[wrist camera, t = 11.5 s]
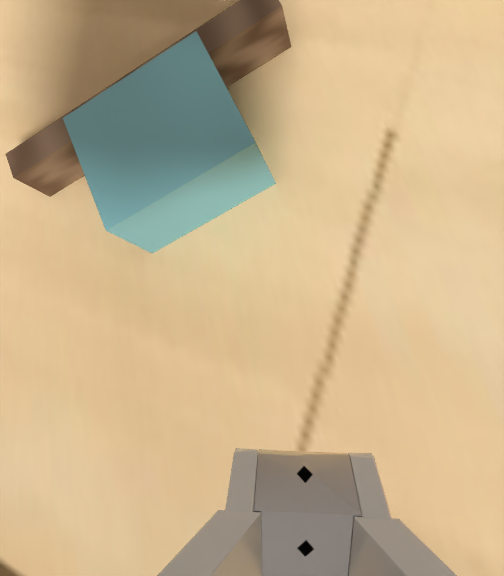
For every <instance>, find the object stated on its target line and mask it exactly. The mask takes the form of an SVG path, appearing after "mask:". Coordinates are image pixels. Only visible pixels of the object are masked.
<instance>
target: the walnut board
mask: <svg viewBox="0 0 504 576" xmlns="http://www.w3.org/2000/svg"><path fill="white" fill-rule="evenodd" d="M196 31H197V33H198V35H199V37H200V39H201V41H202V43H203V44H204V46H205V48H206V50H207V52H208V54H209V56H210V58H211V59H212V61H213V63H214V65H215V67H216V69H217V71H218V73H219V75H220V76H221V78H222V80H223V82H224V84H225V86H226V87H227V86H229V85H230V84H232V83H234V82H235V81H237V80H239V79H240V78H242V77H243V76H245V75H247V74H248V73H250V72H251V71H253V70H255V69H256V68H258V67H259V66H261V65H263V64H264V63H266V62H267V61H269V60H271V59H272V58H274V57H276V56H277V55H279V54H280V53H282V52H284V51H285V50H287V49H288V48H290V47H291V44H290V39H289V35H288V30H287V26H286V22H285V17H284V13H283V8H282V5H281V4H280V2H279V0H240V1H238V2H237V3H235V4H234V5H232V6H231V7H229V8H228V9H226V10H225V11H223V12H221V13H220V14H218V15H217V16H215V17H214V18H212V19H211V20H209V21H208V22H206V23H205V24H203V25H202V26H200V27H199V28H197V29H196V30H194V31H192V32H191V33H189V34H188V35H186V36H185V37H183V38H182V39H180V40H179V41H177V42H176V43H174V44H173V45H171V46H170V47H168V48H167V49H165V50H164V51H162V52H160V53H159V54H157V55H156V56H154V57H153V58H151V59H150V60H148V61H147V62H145V63H144V64H142V65H141V66H139V67H138V68H136V69H135V70H133V71H131V72H130V73H128V74H127V75H125V76H124V77H122V78H121V79H119V80H118V81H116V82H115V83H113V84H112V85H110V86H109V87H107V88H106V89H104V90H103V91H105V90H107V89H108V88H110V87H111V86H113V85H114V84H116V83H117V82H119V81H120V80H122V79H123V78H125V77H127V76H128V75H130V74H131V73H133V72H134V71H136V70H137V69H139V68H140V67H142V66H143V65H145V64H146V63H148V62H150V61H151V60H153V59H154V58H156V57H157V56H159V55H160V54H162V53H163V52H165V51H166V50H168V49H169V48H171V47H173V46H174V45H176V44H177V43H179V42H180V41H182V40H183V39H185V38H186V37H188V36H189V35H191V34H192V33H194V32H196ZM103 91H101V92H99V93H98V94H96V95H95V96H93V97H92V98H90V99H89V100H87V101H86V102H84V103H83V104H81V105H80V106H82V105H84V104H85V103H87V102H88V101H90V100H91V99H93V98H94V97H96V96H97V95H99V94H100V93H102V92H103ZM80 106H78V107H77V108H79V107H80ZM77 108H75V109H74V110H76V109H77ZM74 110H72V111H70V112H69V113H67V114H66V115H64V116H63V117H61V118H60V119H58V120H57V121H55V122H54V123H52V124H51V125H49V126H48V127H46V128H45V129H43V130H41V131H40V132H38V133H37V134H35V135H34V136H32V137H31V138H29V139H28V140H26V141H25V142H23V143H22V144H20V145H19V146H17V147H16V148H14V149H13V150H11V151H9V152H8V153H6V157H7V160H8V163H9V166H10V169H11V172H12V175H13V178H15V179H17V180H19V181H21V182H23V183H24V184H26V185H28V186H30V187H32V188H34V189H36V190H38V191H40V192H42V193H44V194H46V195H48V196H52V195H54V194H55V193H57V192H58V191H60V190H62V189H63V188H65V187H66V186H68V185H70V184H71V183H73V182H74V181H76V180H78V179H79V178H81V177H83V176H84V172H83V170H82V167H81V164H80V162H79V159H78V157H77V154H76V151H75V149H74V146H73V144H72V141H71V138H70V136H69V133H68V131H67V128H66V125H65V123H64V120H63V118H64V117H65V116H67V115H68V114H70V113H71V112H73V111H74Z"/></svg>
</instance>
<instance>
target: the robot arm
mask: <svg viewBox="0 0 504 576" xmlns="http://www.w3.org/2000/svg"><path fill="white" fill-rule="evenodd" d="M157 576H457V575H456V574H455V573H454V572H453V571H452V570H451V569H450V568H449V567H448V566H447V565H446V564H445V563H444V562H442V561H441V560H440V559H439V558H438V557H437V556H436V555H435V554H434V553H433V552H432V551H431V550H430V549H429V548H428V547H427V546H426V545H425V544H424V543H423V542H422V541H421V540H420V539H419V538H418V537H417V536H416V535H415V534H414V533H413V532H412V531H411V530H410V529H409V528H408V527H407V526H406V525H405V524H404V523H403V522H402V521H401V520H400V519H392V518H391V514H390V511H389V507H388V504H387V500H386V497H385V493H384V490H383V486H382V483H381V479H380V476H379V472H378V469H377V465H376V462H375V458H374V456H373V455H372V454H371V453H348V454H347V453H324V452H294V451H278V450H262V449H259V451H258V450H253V449H239V448H236V450H235V452H234V456H233V463H232V469H231V476H230V483H229V489H228V496H227V503H226V509H225V510H218V511H217V512H216V513H215V514H214V515H213V517H212V518H211V519H210V520H209V521H208V522H207V523H206V524H205V525H204V526H203V527H202V528H201V529H200V530H199V531H198V533H197V534H196V535H195V536H194V537H193V538H192V539H191V540H190V541H189V542H188V543H187V544H186V545H185V546H184V548H183V549H182V550H181V551H180V552H179V553H178V554H177V555H176V556H175V557H174V558H173V559H172V560H171V561H170V562H169V564H168V565H167V566H166V567H165V568H164V569H163V570H162V571H161V572H160V573H159V574H158V575H157Z"/></svg>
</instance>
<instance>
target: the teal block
mask: <svg viewBox="0 0 504 576" xmlns="http://www.w3.org/2000/svg"><path fill="white" fill-rule="evenodd" d="M63 120H64V123H65V125H66V128H67V131H68V133H69V136H70V138H71V141H72V144H73V146H74V149H75V151H76V154H77V157H78V159H79V162H80V164H81V167H82V170H83V172H84V175H85V177H86V180H87V183H88V185H89V188H90V190H91V193H92V195H93V198H94V201H95V203H96V206H97V208H98V211H99V214H100V216H101V219H102V221H103V224H104V227H105V229H106V231H108V232H110V233H112V234H114V235H116V236H118V237H120V238H122V239H124V240H126V241H128V242H130V243H132V244H134V245H136V246H138V247H140V248H142V249H144V250H146V251H148V252H150V253H154V252H156V251H157V250H159V249H161V248H163V247H164V246H166V245H168V244H170V243H172V242H173V241H175V240H177V239H179V238H180V237H182V236H184V235H186V234H187V233H189V232H191V231H193V230H195V229H196V228H198V227H200V226H202V225H203V224H205V223H207V222H209V221H210V220H212V219H214V218H216V217H217V216H219V215H221V214H223V213H225V212H226V211H228V210H230V209H232V208H233V207H235V206H237V205H239V204H240V203H242V202H244V201H246V200H248V199H249V198H251V197H253V196H255V195H256V194H258V193H260V192H262V191H263V190H265V189H267V188H269V187H271V186H272V185H274V184H276V183H275V181H274V179H273V177H272V175H271V173H270V171H269V169H268V167H267V165H266V162H265V160H264V158H263V156H262V154H261V152H260V150H259V148H258V146H257V144H256V142H255V140H254V138H253V137H252V135H251V133H250V131H249V129H248V127H247V125H246V123H245V122H244V120H243V118H242V116H241V114H240V112H239V110H238V108H237V107H236V105H235V103H234V101H233V99H232V97H231V95H230V93H229V91H228V90H227V88H226V86H225V84H224V82H223V80H222V78H221V76H220V75H219V73H218V71H217V69H216V67H215V65H214V63H213V61H212V59H211V58H210V56H209V54H208V52H207V50H206V48H205V46H204V44H203V43H202V41H201V39H200V37H199V35H198V33H197V31H196V32H194V33H192V34H191V35H189V36H188V37H186V38H185V39H183V40H182V41H180V42H179V43H177V44H176V45H174V46H173V47H171V48H169V49H168V50H166V51H165V52H163V53H162V54H160V55H159V56H157V57H156V58H154V59H153V60H151V61H150V62H148V63H146V64H145V65H143V66H142V67H140V68H139V69H137V70H136V71H134V72H133V73H131V74H130V75H128V76H127V77H125V78H123V79H122V80H120V81H119V82H117V83H116V84H114V85H113V86H111V87H110V88H108V89H107V90H105V91H103V92H102V93H100V94H99V95H97V96H96V97H94V98H93V99H91V100H90V101H88V102H87V103H85V104H84V105H82V106H80V107H79V108H77V109H76V110H74V111H73V112H71V113H70V114H68V115H67V116H65V117H64V118H63Z"/></svg>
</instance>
